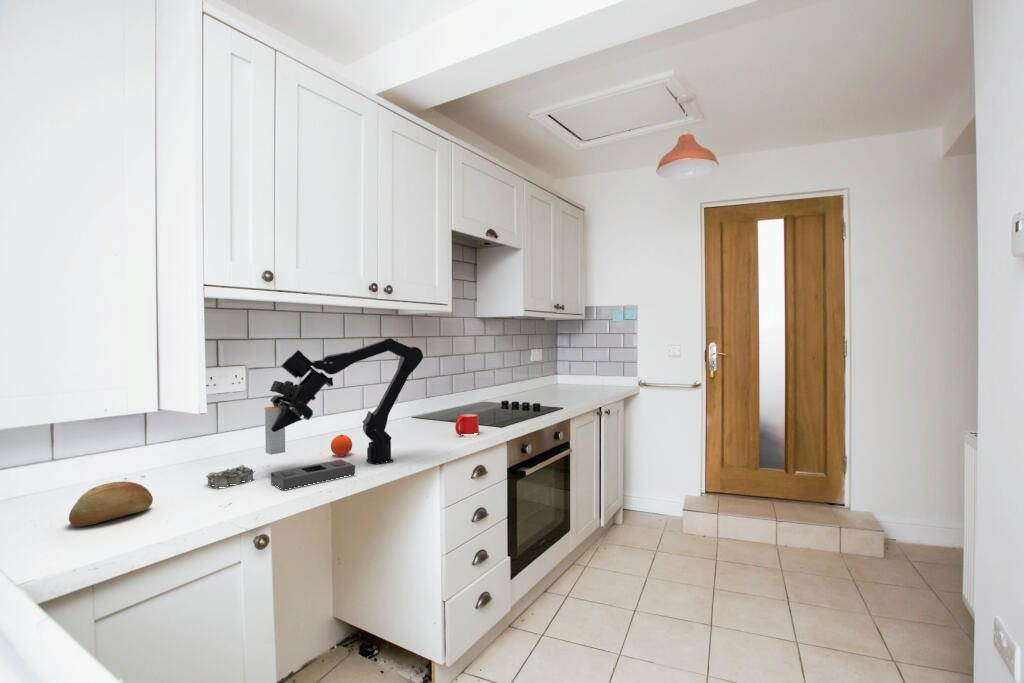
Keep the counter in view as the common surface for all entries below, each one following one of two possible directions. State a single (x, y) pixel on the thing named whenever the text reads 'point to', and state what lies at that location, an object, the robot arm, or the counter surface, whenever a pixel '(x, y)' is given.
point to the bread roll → (109, 503)
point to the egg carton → (230, 476)
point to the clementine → (341, 445)
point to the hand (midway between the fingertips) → (270, 430)
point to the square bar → (274, 439)
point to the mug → (467, 424)
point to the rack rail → (311, 474)
